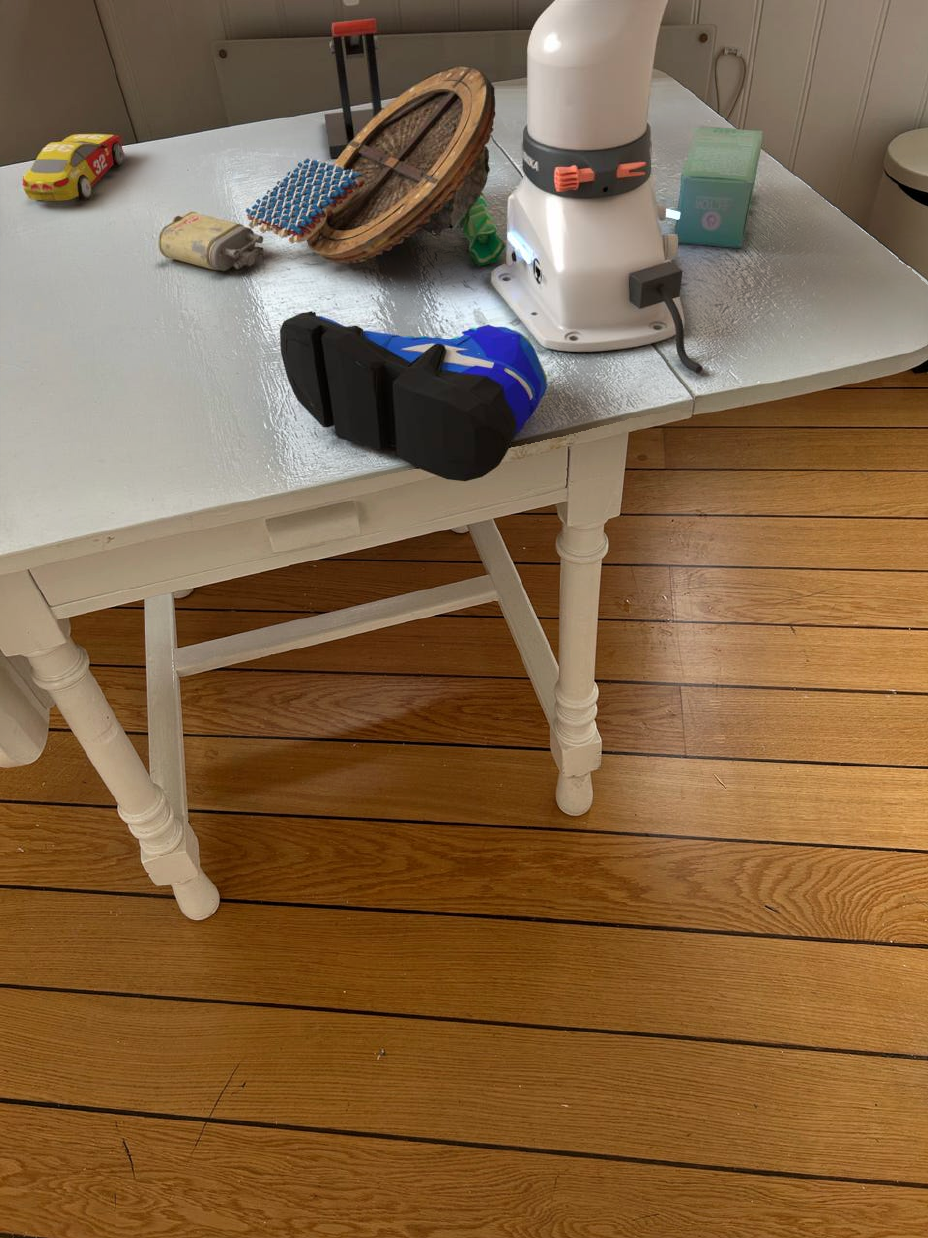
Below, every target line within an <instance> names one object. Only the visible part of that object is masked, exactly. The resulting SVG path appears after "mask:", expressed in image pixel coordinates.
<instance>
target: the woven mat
mask: <svg viewBox="0 0 928 1238" xmlns="http://www.w3.org/2000/svg"><path fill="white" fill-rule="evenodd" d="M303 163H304V164H303ZM329 163H330V162H329V161H325V162H320V159H318V160H317V159H314V158H312V157H311V159H309V158H308V157H307V158H306V159H305V160H303V162H298V163H297V164H296V165H297V167H296V168H295V169H294V170H292V172H291V171H288V172H287V173H286V175H287V176H285V177H284V178H283V179H282V181H280V180H278V181H277V182H276V184H277V185H275V186H274V187H273V188H272V190H270V189H268V190H267V191H266V194H265V195H264V196H263V197H262V198H261V199H262V200H260V199H259V198H257V199H256V200H255V202H256V203H255V204H254V205H253V206H252V207H251V209H252V210H251V209H250V208H247V207H246V209H245V212H246V213H247V214H246V217H247V218H246V219H247V221H250V222H249V223H248V228H250V229H251V230H252V229H254V228H255V227H259V231H260V232H261V233H262V234H264V233H266V231H267V232H272V233H273V234H274V235H275V236H276V235H277V236H279V237H280V238H281V239H284V238H288V237H289V238H288V242H289V243H290V244H294V243H298V244H299V243H302V242H307V241H306V240H307V239H309V238H310V237H311V236H312V235H313V234H314V233H315V232H316V231H318V230H319V229H320V228H321V227H322V226H323V225H324V223H325V221H326V219H327V216H330V215H331V214H332V213H335V212H338V211H339V210H340V209H342V208H343V207H344V206H345V205H346V204H347V203H348V202H349V201H350V200H351V199H352V198H353V197H354V196H355V195H356V194H357V193H358V191H359V187H360V188H361V187H362V186H363V185H364V184H365V183H364V182H365V179H364V178H362V177H360V173H357V172H353V170H354V169H351V171H350V170H345V171H344V166H343V167H342V168H341V167H337V165H335V166H333V164H332V163H330V164H329ZM356 177H357V178H356ZM355 178H356V179H355ZM345 193H347V194H345ZM340 198H342V199H340ZM313 222H315V223H314V224H313ZM308 227H310V228H309V229H308Z"/></svg>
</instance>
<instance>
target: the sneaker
mask: <svg viewBox="0 0 928 1238" xmlns="http://www.w3.org/2000/svg"><path fill="white" fill-rule="evenodd" d="M461 334H462V335H461V336H459V335H458V336H455V337H453V338H441V337H439V336H436V335H435V336H434V337H429V336H426V335H419V337H418V336H417V337H416V336H414V335H406V336H402V335H398V334H391V333H385V332H377V331H371V330H364V329H363V328H362V327H360V326H358V325H349V326H345V325H343V324H341V323H340V322H337V321H335V320H333V319H330V318H327V317H325V316H323V315H322V316H319V315H317V313H316V311H313V310H311V311H305V312H300V313H299V314H297V315H294V316H292V317H289V318H287V319H285V320H283V322H282V324H281V326H280V329H279V341H280V342H279V343H280V354H281V358H282V362H283V366H284V370H285V374H286V377H287V378H286V379H287V380H288V383H289V385H290V388H291V390H292V392H293V394H294V396H295V398H296V400H297V402H298V403H299V404H300V405H301V406H302V407H303V408H304V409H305V410H306V411H307V412H308V413H309V414H310V415H311V417H312V418H314V420H316V422H318V423H319V424H320V426H322V428H331V427H333V426H334V427H333V428H334V433H335V435H336V436H337V438H338V439H341V440H344V441H347V442H350V443H354V444H357V445H360V446H364V447H367V448H370V449H373V450H377V451H381V450H384V449H387V448H389V447H393V448H396V456H397V458H399V459H401V460H403V461H404V462H406V463H409V464H410V465H412V466H413V467H415V468H417V469H419V470H422V471H423V472H427V473H429V474H433V475H435V476H437V477H440V478H442V479H445V480H450V481H458V482H468V481H472V480H476V479H479V478H483V477H484V476H487V475H488V474H489V473H491V472H492V471H493V470H495V469H496V468H498V467H499V465H500V464H501V463H502V461H503V460H504V458H505V457H506V455H507V453H508V452H509V449H510V448H511V444H512V442H513V441H514V440H515V438H516V437H517V436H518V434H520V433H521V431H522V430H523V428H524V427H525V426H526V425H527V424H528V422H529V420H530V418H531V417H532V415H533V414H534V413H535V412H536V410H537V409H538V406H539V404H540V402H541V401H542V400H543V398H544V397H545V396H546V392H547V390H548V376H547V374H546V372H545V369H544V367H543V365H542V363H541V361H540V358H539V356H538V353H537V352H536V350H535V347H534V346H533V345H532V343H531V341H530V339H529V338H528V337H526V336H525V335H523V334H522V333H521V332H519V331H518V330H517V329H511V328H509V327H507V326H494V325H490V324H486V325H483V326H479V327H470V328H469V329H467V330H464V331H461Z"/></svg>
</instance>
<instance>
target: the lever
mask: <svg viewBox="0 0 928 1238" xmlns="http://www.w3.org/2000/svg"><path fill="white" fill-rule="evenodd" d="M331 24H332V25H331V26H333V33H334V37H341V38H342V37H343V41H344V42H343V43H344V50H345V55H346V60H352V59H354V60H355V59H361V58H362V59H363V58H364V57H365V46H364V40H363V35H364V34H372V33H374V34H377V33H378V29H377V21H376V18H367V19H356V20H346V21H336V22H332V23H331Z"/></svg>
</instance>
